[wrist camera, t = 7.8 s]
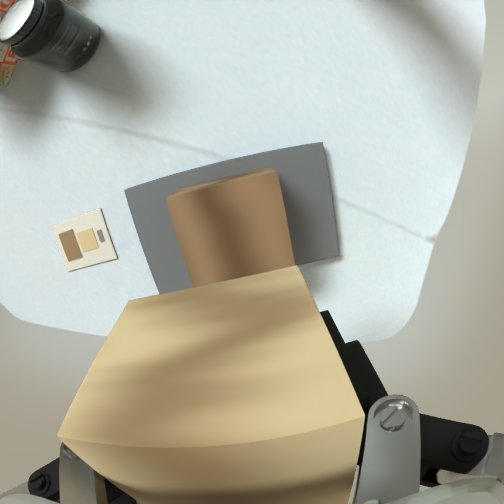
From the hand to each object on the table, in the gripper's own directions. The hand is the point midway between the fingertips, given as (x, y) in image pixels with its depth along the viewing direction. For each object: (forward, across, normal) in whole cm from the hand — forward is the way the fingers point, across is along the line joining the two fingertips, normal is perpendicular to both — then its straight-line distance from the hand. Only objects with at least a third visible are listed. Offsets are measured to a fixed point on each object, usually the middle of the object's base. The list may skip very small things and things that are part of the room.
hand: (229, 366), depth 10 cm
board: (+21, 0, 0) cm, 21 cm away
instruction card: (+21, +18, -2) cm, 27 cm away
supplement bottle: (+21, +13, -25) cm, 35 cm away
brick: (+19, 0, 0) cm, 19 cm away
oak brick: (+1, 0, 0) cm, 1 cm away
